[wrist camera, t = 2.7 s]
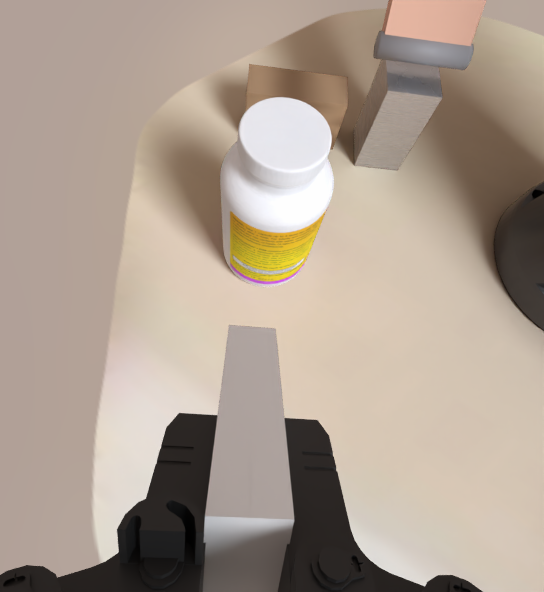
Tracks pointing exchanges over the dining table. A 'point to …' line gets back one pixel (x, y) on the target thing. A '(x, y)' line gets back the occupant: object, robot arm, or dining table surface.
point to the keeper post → (395, 113)
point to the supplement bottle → (275, 190)
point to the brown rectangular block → (301, 91)
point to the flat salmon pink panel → (429, 32)
